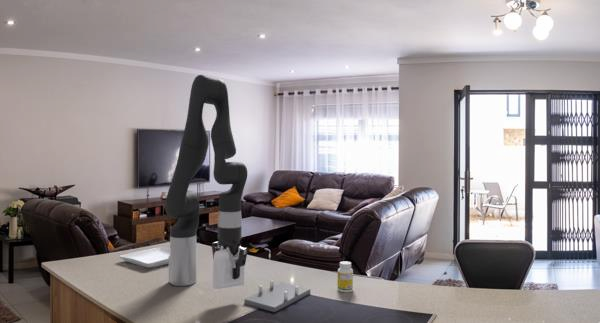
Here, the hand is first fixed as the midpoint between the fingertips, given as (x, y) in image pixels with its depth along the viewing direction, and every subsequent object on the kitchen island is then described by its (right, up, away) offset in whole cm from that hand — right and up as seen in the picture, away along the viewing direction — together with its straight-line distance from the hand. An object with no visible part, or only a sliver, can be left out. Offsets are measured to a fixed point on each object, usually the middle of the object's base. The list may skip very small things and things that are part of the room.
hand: (228, 276), depth 137 cm
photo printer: (0, -3, 0) cm, 3 cm away
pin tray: (+16, -8, +3) cm, 18 cm away
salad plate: (-39, -6, +47) cm, 61 cm away
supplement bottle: (+39, -8, +12) cm, 41 cm away
